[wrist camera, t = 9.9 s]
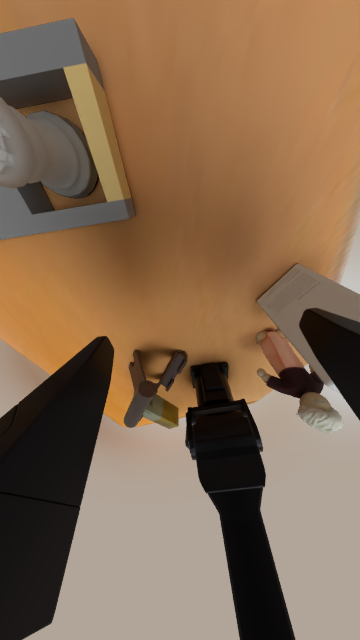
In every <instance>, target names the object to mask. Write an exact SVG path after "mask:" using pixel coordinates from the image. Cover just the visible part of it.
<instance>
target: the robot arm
mask: <svg viewBox="0 0 360 640" xmlns="http://www.w3.org/2000/svg"><path fill="white" fill-rule="evenodd" d="M299 328H300V330H301V332H302V334H303V335H304V337H305V339H306V341H307V343H308V345H309V346H310V348H311V350H312V352H313V354H314V355H315V357H316V358H317V360H318V361H319V363H320V364H321V366H322V367H323V369H324V370H325V372H326V373H327V374H328V376H329V377H330V379H331V380H332V382H333V383H334V384H335V386H336V387H337V389H338V390H339V392H340V393H341V394H342V396H343V397H344V399H345V400H346V402H347V403H348V404H349V406H350V407H351V409H352V410H353V412H354V413H355V414H356V416H357V417H358V419H359V420H360V322H358V321H355V320H352V319H349V318H346V317H343V316H340V315H337V314H334V313H331V312H328V311H325V310H322V309H319V308H309V309H306V310H305V311H304V312H303V315H302V317H301V320H300V322H299ZM113 358H114V348H113V346H112V344H111V342H110V340H109V339H108V337H107V336H100V337H97V338H95V339H94V340H93V341H92V342H91V343H89V344H88V345H87V346H86V347H85V348H83V349H82V350H81V351H80V352H79V353H77V354H76V355H75V356H74V357H73V358H72V359H70V360H69V361H68V362H67V363H66V364H64V365H63V366H62V367H61V368H60V369H58V370H57V371H56V372H55V373H54V374H52V375H51V376H50V377H49V378H48V379H46V380H45V381H44V382H43V383H42V384H41V385H39V386H38V387H37V388H36V389H35V390H33V391H32V392H31V393H30V394H29V395H28V396H26V397H25V398H24V399H23V400H22V401H20V402H19V404H17V405H16V406H14V407H13V408H12V409H11V410H10V411H8V412H7V413H6V414H5V415H4V416H2V417H1V418H0V640H22V639H24V638H26V637H28V636H29V635H31V634H33V633H35V632H37V631H39V630H40V629H42V628H44V627H46V626H48V625H49V624H51V623H52V620H53V617H54V613H55V610H56V606H57V602H58V597H59V593H60V589H61V585H62V581H63V577H64V573H65V568H66V564H67V560H68V556H69V552H70V548H71V544H72V540H73V536H74V531H75V527H76V523H77V519H78V515H79V511H80V506H81V502H82V498H83V494H84V489H85V485H86V481H87V477H88V473H89V469H90V465H91V461H92V456H93V452H94V448H95V444H96V440H97V436H98V432H99V427H100V423H101V419H102V415H103V411H104V407H105V403H106V399H107V395H108V390H109V386H110V381H111V374H112V366H113ZM228 367H229V366H228V363H226V362H225V363H217V364H209V365H201V366H193V367H191V368H190V369H191V376H192V383H193V388H194V389H196V397H197V404H198V407H193V408H191V407H188V412H187V413H186V422H187V427H186V440H185V443H186V446H187V447H188V449H189V450H190V453H191V457H192V459H193V460H196V461H197V468H198V476H199V479H200V482H201V485H202V487H203V488H204V490H205V492H206V493H208V495H209V497H210V498H211V500H212V502H213V504H214V505H215V507H216V509H217V510H218V512H219V514H220V521H221V527H222V533H223V538H224V545H225V551H226V557H227V563H228V570H229V576H230V582H231V588H232V593H233V600H234V606H235V612H236V618H237V624H238V630H239V637H240V640H295V637H294V633H293V629H292V625H291V622H290V618H289V614H288V611H287V607H286V603H285V600H284V596H283V592H282V589H281V585H280V582H279V578H278V574H277V571H276V567H275V563H274V560H273V556H272V552H271V548H270V545H269V541H268V537H267V534H266V530H265V526H264V523H263V519H262V515H261V512H260V506H261V497H262V491H263V487H265V478H266V474H265V469H264V465H263V462H262V458H261V455H260V452H262V451H263V447H262V442H261V438H260V435H259V431H258V429H257V426H256V424H255V422H254V419H253V417H252V415H251V413H250V410H249V408H248V406H247V403H246V401H245V399H241V400H237V401H234V400H233V397H232V393H231V390H230V387H229V384H228Z"/></svg>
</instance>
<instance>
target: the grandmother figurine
mask: <svg viewBox="0 0 360 640" xmlns="http://www.w3.org/2000/svg"><path fill="white" fill-rule="evenodd" d="M285 338H286V337H285V336H284V334H283V333H282V332H281V331H280V330H277V331H276V332H274V331H271V332H268V331H262V332H260V333H258V334H257V336H256V340H257V344H259V345H260V346H261V348H262V350H263V352H264V354H265V356H266V358H267V359H268V361H269V363H270V364H271V365H272V367H273V368H274V370H275V371H276V373H277V374H278V376H279V377H280V379H279V378H277V377H274V376H271V375H269V374H267V373H266V372H265V371H264V370H263V369H258V370H257V375H258V376H260V377H261V378H262V380H263V381H264V382H266V383H267V384H266V385H267V386H268V387H270V388H272V389H274V390H276V391H278V392H281V393H284V394H287V395H291V396H293V397H297V398H300V407H299V409H298V413H297V415H298V416H299V417H300V418H301V419H302V420H303V421H304V422H306V423H307V424H308V425H310V426H312V427H314V428H316V429H318V430H320V431H322V432H325V433H329V432H334V431H336V430H339V429H341V428H342V425H343V419H342V417H341V416H340V414H339V413H338V412H337V411H336V410H334V409H333V408H332V407H331V405H330V403H329V402H328V400H327V399H326V398H325V397H323V396H322V395H320V393H321V391H322V389H323V385H324V383H323V381H322V380H321V379H320V377H319V376H318V375H317V374H316V372H315V371H314V370H313V369H312V367H311V366H310V365H309V367H310V371H311V374H309V373H308V372H307V371H306V370H305V368H304V366H303V364H302V362H301V361H300V360H299V358H298V357H297V356H296V354H295V353H294V351H293V350H292V348H291V347H290V345H289V344H288V342H287V341H286V340H285Z"/></svg>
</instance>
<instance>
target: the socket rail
mask: <svg viewBox="0 0 360 640" xmlns="http://www.w3.org/2000/svg"><path fill="white" fill-rule="evenodd" d="M0 97H1V98H2V99H3V100H4V101H5V103H6V104H7V105H9V106H12V107H13V108H15V109H17V108H22V107H27V106H32V105H37V104H43V103H48V102H53V101H58V100H63V99H68V98H73V99H74V102H75V105H76V108H77V111H78V115H79V118H80V121H81V124H82V127H83V130H84V133H85V136H86V139H87V142H88V145H89V148H90V151H91V154H92V157H93V160H94V163H95V166H96V169H97V172H98V175H99V178H100V181H101V184H102V188H103V191H104V194H105V197H106V200H107V202H105V203H99V204H93V205H87V206H81V207H75V208H69V209H63V210H57V211H55V210H54V208H53V206H52V204H51V202H50V200H49V198H48V196H47V194H46V192H45V190H44V188H43V186H42V184H41V182H35V183H31V184H30V183H27V184H26V185H25V186H22V187H17V188H13V189H12V188H8V187H4V186H0V219H1V220H0V240H2V239H9V238H15V237H21V236H27V235H33V234H39V233H45V232H51V231H58V230H64V229H70V228H76V227H82V226H88V225H94V224H100V223H107V222H113V221H119V220H125V219H130V218H131V217H133V216H134V215H135V210H134V206H133V202H132V199H131V195H130V191H129V187H128V183H127V179H126V175H125V171H124V167H123V163H122V159H121V155H120V151H119V147H118V143H117V139H116V135H115V131H114V127H113V123H112V119H111V115H110V111H109V107H108V103H107V100H106V96H105V92H104V88H103V84H102V80H101V76H100V72H99V68H98V64H97V60H96V58H95V56H94V54H93V52H92V50H91V49H90V47H89V45H88V43H87V41H86V39H85V38H84V36H83V34H82V32H81V30H80V29H79V27H78V25H77V23H76V21H75V20H74V18H71V19H66V20H61V21H57V22H52V23H47V24H43V25H38V26H34V27H29V28H24V29H20V30H15V31H10V32H6V33H1V34H0Z"/></svg>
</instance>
